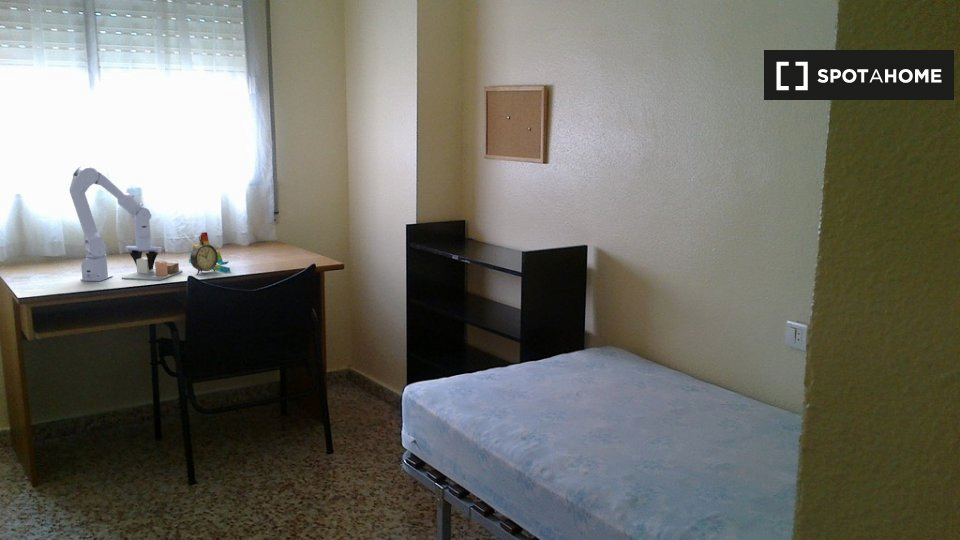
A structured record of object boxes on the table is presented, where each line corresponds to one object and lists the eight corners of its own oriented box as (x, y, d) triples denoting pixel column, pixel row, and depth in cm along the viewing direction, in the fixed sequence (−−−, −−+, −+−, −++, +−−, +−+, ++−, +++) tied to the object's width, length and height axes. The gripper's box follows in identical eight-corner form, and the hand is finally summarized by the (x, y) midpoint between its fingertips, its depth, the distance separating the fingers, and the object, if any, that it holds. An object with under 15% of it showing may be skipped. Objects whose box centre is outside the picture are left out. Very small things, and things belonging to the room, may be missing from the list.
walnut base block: (171, 274, 318) (171, 265, 317) (157, 273, 318) (157, 265, 318) (178, 271, 324) (178, 263, 323) (165, 270, 324) (164, 262, 324)
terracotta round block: (164, 277, 312) (163, 263, 311) (153, 276, 312) (152, 263, 311) (169, 274, 316) (168, 261, 315) (159, 274, 317) (158, 261, 315)
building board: (160, 280, 308) (160, 279, 308) (121, 278, 310) (121, 277, 310) (183, 271, 326) (183, 270, 325) (146, 270, 328) (146, 268, 327)
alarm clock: (197, 275, 318) (195, 236, 315) (188, 274, 321) (186, 235, 318) (219, 271, 328) (217, 233, 324) (210, 270, 330) (208, 232, 327)
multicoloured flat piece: (230, 272, 328) (229, 236, 325) (223, 273, 326) (222, 237, 323) (195, 262, 349) (194, 228, 346) (189, 263, 346) (187, 229, 343)
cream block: (147, 273, 319) (146, 260, 318) (137, 272, 319) (136, 259, 318) (153, 271, 323) (152, 258, 322) (143, 270, 324) (142, 257, 323)
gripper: (164, 235, 321) (166, 267, 324) (131, 234, 323) (134, 266, 326) (155, 238, 314) (157, 271, 317) (122, 236, 316) (124, 269, 319)
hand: (145, 269), depth 321 cm, fingers closed on cream block, 4 cm apart
